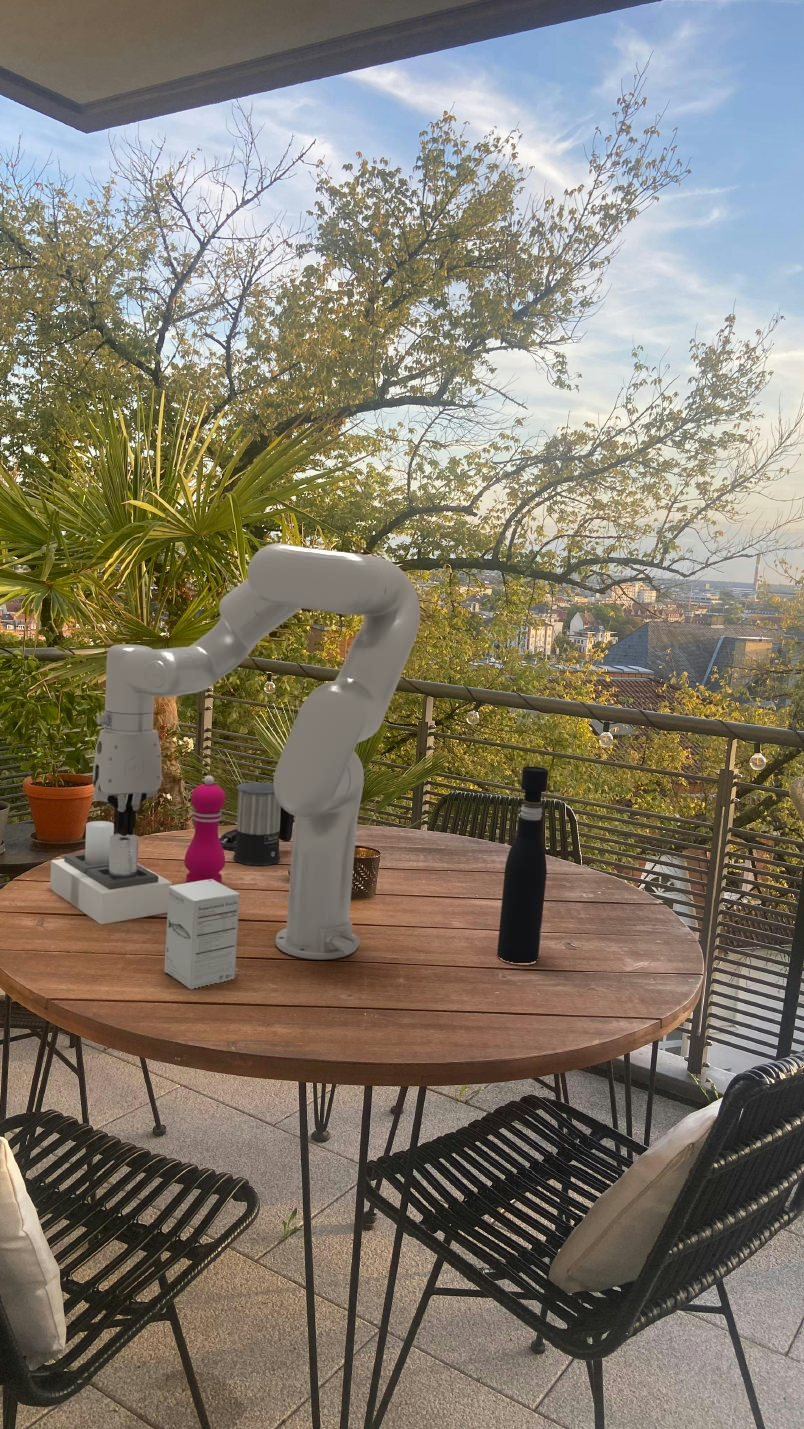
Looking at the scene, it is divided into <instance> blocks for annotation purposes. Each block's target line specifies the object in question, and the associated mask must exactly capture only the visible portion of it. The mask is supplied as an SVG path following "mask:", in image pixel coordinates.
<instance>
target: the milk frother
mask: <svg viewBox="0 0 804 1429" xmlns="http://www.w3.org/2000/svg"><path fill="white" fill-rule="evenodd" d="M236 786H237V787H236V788H237V790H238V792H237V793H238V794H237V808H236V810H237V812H236V828H235V829H232V830H229V831H227V832H225V833H223V834H222V835H221V836H220V837H219V840H220V843H221V845H222V848H223V849H224V848H225V849H227V850H233V851H234V854H233V857H232V859H233V860H234V861H235V862H237V863H239V864H242V865H246V866H247V865H248V866H257V867H258V866H260V867H261V866H269V865H273V864H277V863H279V862H280V860H281V858H280V841H282V842H286V843H287V842H290V841H291V840H292V839H293V829H294V822H295V816H294V815H292V814H290V813H288V812H287V811H286V810H284V809H283V808H282V806H281V805H280V804H279V802H278V800H277V798H276V795H275V792H274V783H272V782H271V783H270V782H260V781H259V782H255V781H254V782H245V783H241V784H238V785H236Z"/></svg>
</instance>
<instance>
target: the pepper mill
mask: <svg viewBox="0 0 804 1429" xmlns="http://www.w3.org/2000/svg"><path fill="white" fill-rule="evenodd" d="M214 783H215V779H214V777H213V776H212V775H207V776H205V777H204V779H203V784H200V785H198V786H196V787H195V788H194V789H193V790H192V793H191V796H190V803H191V805H192V807H194V810H193V812H192V813H193V816H192V819H193V820H194V821H195V822H194V824H195V828H194V835H193V838H192V840H191V842H190V844H189V846H188V848H187V850H186V852H185V856H184V860H183V862H184V863H183V864H184V866H185V868H186V869H187V870H188V873H187V874H186V880H185V883H190V882H196V881H202V880H209V879H213V880H215V881H217V882H219V883H220V884H222V882H223V881H222V879H223V875H222V874H221V873H220V872H221V871H222V870H223V869H224V867H225V865H226V855H225V854H226V853H225V851H224V847H222V845H221V843H220V840H219V839H220V837H219V836H220V835H219V822H220V821H221V820H222V813H223V812H222V811H220V810H221V809H222V808H223V807H224V805H225V803H226V793H225V792H224V790H223V789H222V787H220V786H219V785H217V784H214Z"/></svg>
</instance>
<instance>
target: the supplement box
mask: <svg viewBox="0 0 804 1429" xmlns="http://www.w3.org/2000/svg"><path fill="white" fill-rule="evenodd" d="M240 897H241V894H240V892H238V891H236V890H233V889H232V888H230V887H228V886H226V885H224V884H223V883H221V884H220V883H219V882H217V881H215V880H213V879H209V880H202V881H196V882H190V883H186V882H185V883H179V884H174V885H173V884H172V886H169V893H168V913H166V914H167V916H166V931H165V932H166V935H165V950H164V951H165V953H164V954H165V955H164V972H165V973H166V974H168V975H170V976H171V977H172V978H174V979H175V980H177V981H179V982H180V983H181V984H183V986H185V987H187V989H189V990H195V989H194V988H196V989H199V988H198V987H200V988H202V987H201V986H204V987H206V986H205V985H208V986H211V985H210V984H213V985H215V984H214V983H217V984H220V982H221V983H223V982H224V981H225V982H227V981H228V980H229V981H232V980H234V979H235V977H236V976H235V975H236V962H237V961H236V960H237V949H238V948H237V946H238V928H239V914H240V913H239V912H240V899H241V898H240ZM231 979H232V980H231ZM225 982H224V983H225Z"/></svg>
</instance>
